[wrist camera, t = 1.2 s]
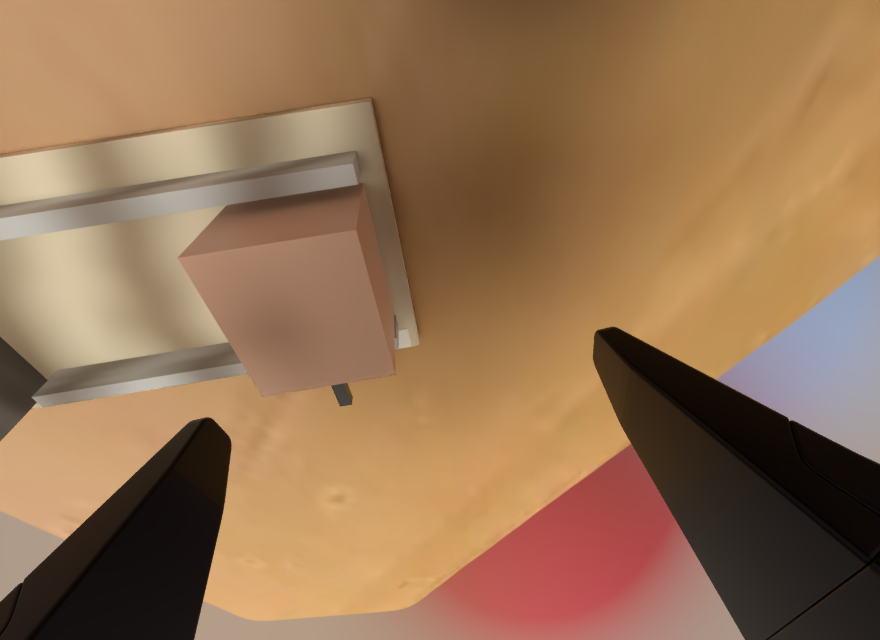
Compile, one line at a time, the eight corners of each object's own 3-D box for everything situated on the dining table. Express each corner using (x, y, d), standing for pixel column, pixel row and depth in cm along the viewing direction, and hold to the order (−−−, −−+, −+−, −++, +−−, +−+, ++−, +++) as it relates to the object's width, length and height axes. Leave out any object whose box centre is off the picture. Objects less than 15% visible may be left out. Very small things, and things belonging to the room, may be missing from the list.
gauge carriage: (363, 182, 17) (356, 229, 13) (402, 343, 22) (405, 410, 18) (227, 204, 17) (177, 258, 13) (301, 360, 22) (283, 430, 18)
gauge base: (371, 97, 16) (362, 132, 10) (418, 334, 24) (428, 426, 18) (-214, 187, 15) (-551, 273, 10) (33, 397, 23) (-76, 511, 18)
